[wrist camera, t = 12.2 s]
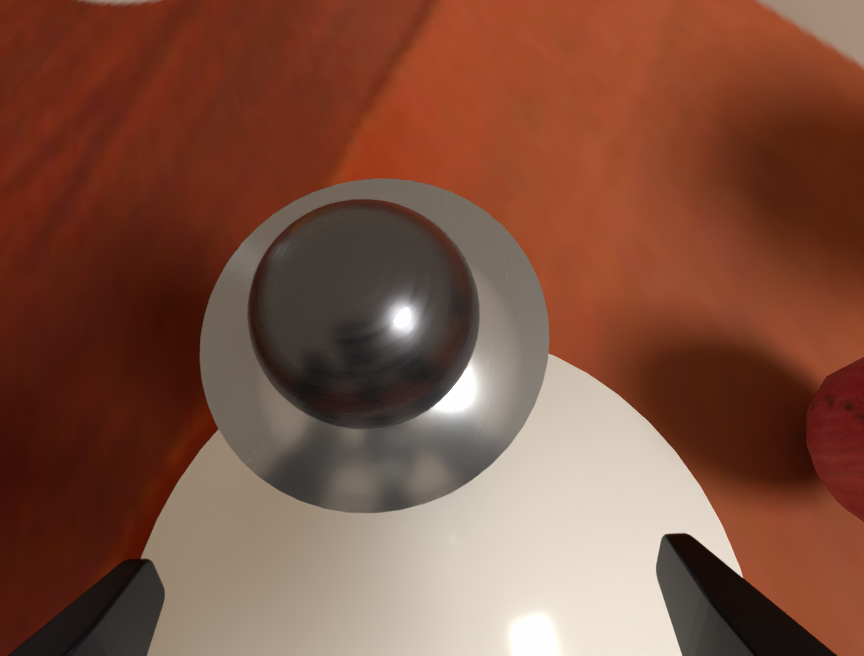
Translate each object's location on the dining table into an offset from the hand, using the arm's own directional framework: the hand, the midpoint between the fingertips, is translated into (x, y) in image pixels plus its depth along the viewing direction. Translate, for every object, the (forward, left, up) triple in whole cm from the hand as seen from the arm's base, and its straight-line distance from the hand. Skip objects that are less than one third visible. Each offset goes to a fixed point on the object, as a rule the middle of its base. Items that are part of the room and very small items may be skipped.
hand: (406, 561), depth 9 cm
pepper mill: (+3, +1, -8) cm, 9 cm away
